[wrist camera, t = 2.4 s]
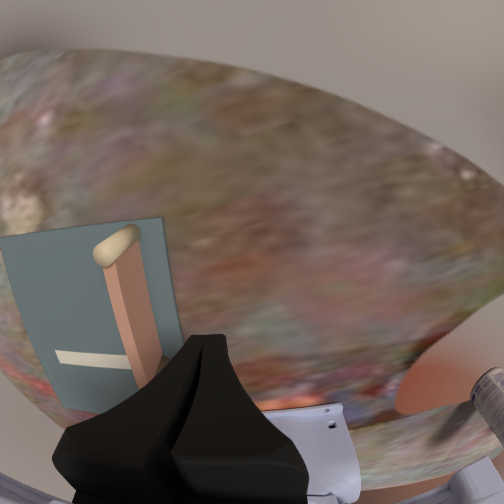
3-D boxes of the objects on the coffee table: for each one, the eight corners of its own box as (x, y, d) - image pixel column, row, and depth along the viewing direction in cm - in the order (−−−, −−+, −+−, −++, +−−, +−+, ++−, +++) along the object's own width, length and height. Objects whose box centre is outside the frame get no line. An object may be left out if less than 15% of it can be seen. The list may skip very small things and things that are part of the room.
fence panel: (165, 353, 21) (151, 393, 17) (150, 352, 21) (134, 392, 17) (139, 222, 18) (111, 242, 14) (121, 224, 18) (90, 244, 14)
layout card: (163, 216, 19) (161, 218, 18) (202, 418, 24) (201, 421, 24) (1, 237, 19) (-2, 238, 18) (64, 404, 24) (63, 407, 24)
